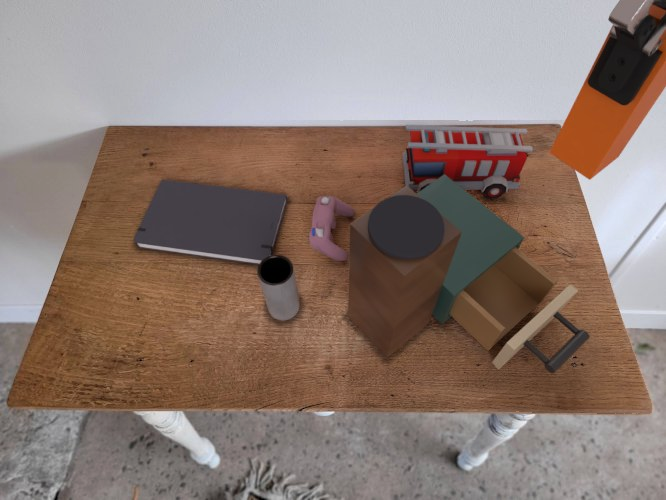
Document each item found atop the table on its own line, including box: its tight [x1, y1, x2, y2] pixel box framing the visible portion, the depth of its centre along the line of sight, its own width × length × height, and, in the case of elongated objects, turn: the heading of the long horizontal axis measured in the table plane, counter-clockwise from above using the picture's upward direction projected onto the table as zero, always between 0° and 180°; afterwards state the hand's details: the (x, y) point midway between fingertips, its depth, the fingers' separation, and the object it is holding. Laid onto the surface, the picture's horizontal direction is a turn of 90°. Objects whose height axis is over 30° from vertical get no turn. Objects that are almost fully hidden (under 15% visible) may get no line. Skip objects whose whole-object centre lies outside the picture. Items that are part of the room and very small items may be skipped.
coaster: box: [368, 195, 444, 259], centre depth 49 cm, size 8×8×1 cm
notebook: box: [133, 178, 288, 266], centre depth 76 cm, size 13×2×21 cm
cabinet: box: [416, 174, 525, 325], centre depth 69 cm, size 15×14×9 cm
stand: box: [347, 185, 462, 359], centre depth 58 cm, size 8×8×22 cm
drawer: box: [449, 247, 591, 374], centre depth 63 cm, size 18×12×7 cm
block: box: [549, 4, 666, 181], centre depth 35 cm, size 4×4×13 cm
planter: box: [256, 254, 301, 321], centre depth 64 cm, size 4×4×10 cm
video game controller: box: [308, 195, 355, 262], centre depth 73 cm, size 10×5×7 cm, turn 172°
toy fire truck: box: [401, 124, 534, 200], centre depth 77 cm, size 9×19×10 cm, turn 90°
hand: (629, 77), depth 34 cm, fingers closed on block, 4 cm apart
